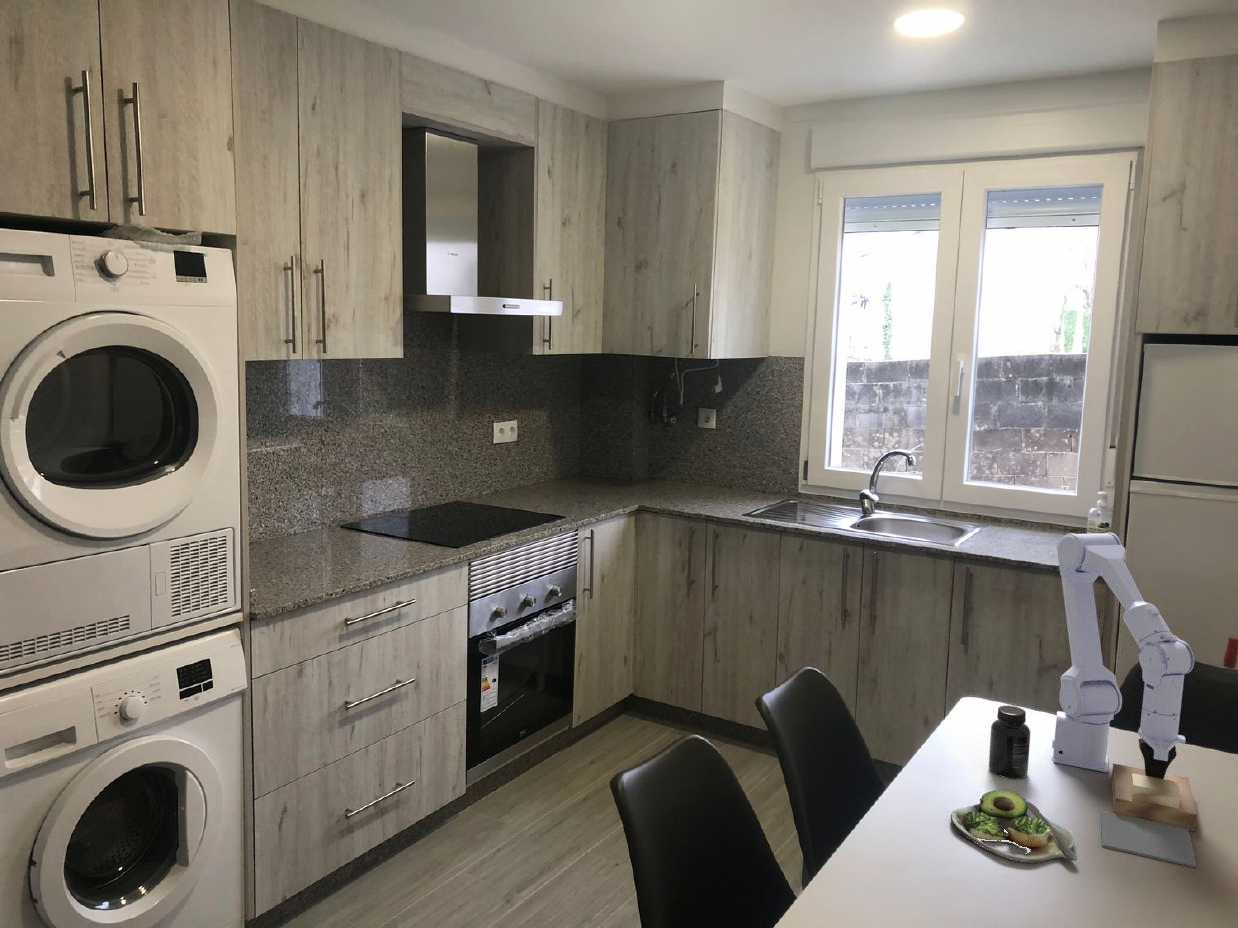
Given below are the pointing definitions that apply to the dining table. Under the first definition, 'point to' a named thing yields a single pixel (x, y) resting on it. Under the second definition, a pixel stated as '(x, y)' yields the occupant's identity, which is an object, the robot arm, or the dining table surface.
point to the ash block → (1155, 790)
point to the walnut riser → (1151, 811)
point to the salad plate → (1013, 827)
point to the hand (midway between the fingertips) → (1153, 783)
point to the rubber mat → (1147, 838)
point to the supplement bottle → (1009, 743)
